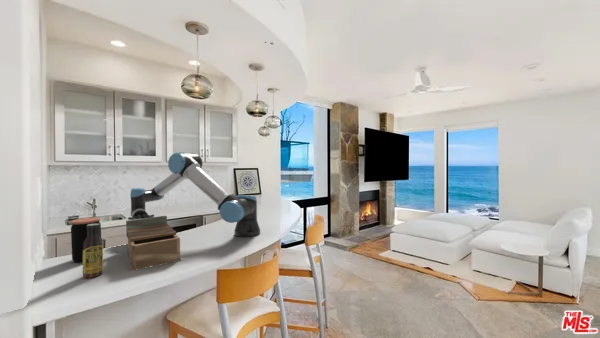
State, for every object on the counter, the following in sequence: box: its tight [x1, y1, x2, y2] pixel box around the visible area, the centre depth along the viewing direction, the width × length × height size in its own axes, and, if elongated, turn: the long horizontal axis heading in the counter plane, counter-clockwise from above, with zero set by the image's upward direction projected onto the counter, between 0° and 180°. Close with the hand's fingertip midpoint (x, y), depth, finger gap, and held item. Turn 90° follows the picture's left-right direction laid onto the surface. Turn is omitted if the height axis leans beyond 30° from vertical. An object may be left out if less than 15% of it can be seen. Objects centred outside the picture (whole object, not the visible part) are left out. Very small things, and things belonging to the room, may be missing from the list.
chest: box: [127, 233, 181, 271], centre depth 123 cm, size 22×18×10 cm
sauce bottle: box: [82, 224, 104, 279], centre depth 104 cm, size 6×6×20 cm
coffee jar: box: [70, 217, 102, 264], centre depth 123 cm, size 11×11×18 cm
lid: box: [125, 215, 177, 242], centre depth 129 cm, size 25×18×8 cm
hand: (144, 223), depth 139 cm, fingers closed
